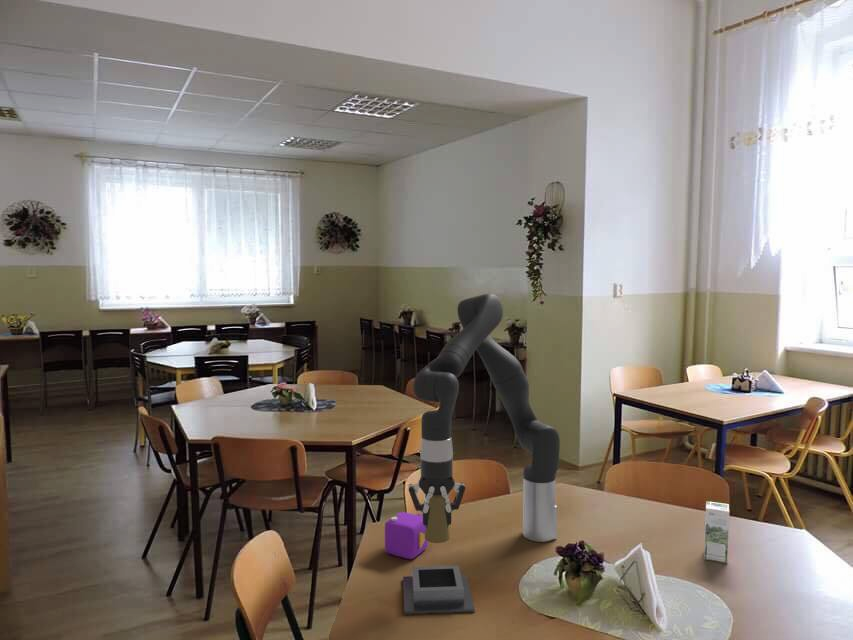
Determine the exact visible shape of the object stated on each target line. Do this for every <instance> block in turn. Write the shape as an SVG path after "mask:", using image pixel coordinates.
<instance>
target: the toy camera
mask: <svg viewBox="0 0 853 640" xmlns="http://www.w3.org/2000/svg"><path fill="white" fill-rule="evenodd" d="M425 529H426V526H424V525H423V514H419V513H418V514H414V513H411V512H404V511H403V512H399V513H397V514H396V515H394V516H392V517H390V519H388V520H387V521H386V522H385V524H384V548H385V549H384V550H385V552H386V553H387V554H389V555H392V556H396V557H399V558H404V559H408V560H413V559H414V558H416V557H418V555H420V554H421V553H422V552H424V551H425V550H426V549H427V548H428V543H429V542H428V541H426V540H425Z"/></svg>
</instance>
